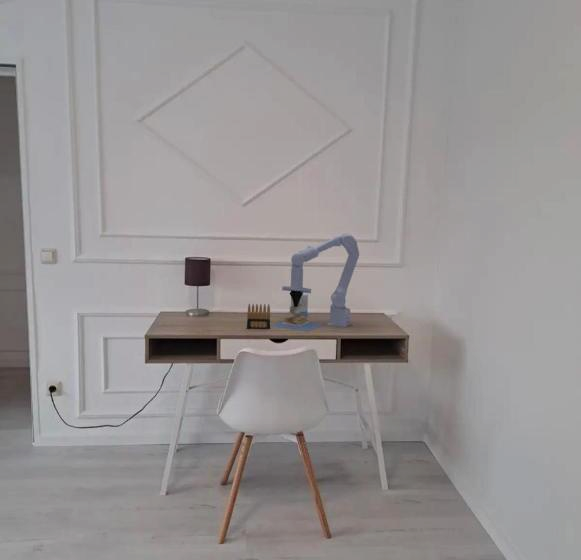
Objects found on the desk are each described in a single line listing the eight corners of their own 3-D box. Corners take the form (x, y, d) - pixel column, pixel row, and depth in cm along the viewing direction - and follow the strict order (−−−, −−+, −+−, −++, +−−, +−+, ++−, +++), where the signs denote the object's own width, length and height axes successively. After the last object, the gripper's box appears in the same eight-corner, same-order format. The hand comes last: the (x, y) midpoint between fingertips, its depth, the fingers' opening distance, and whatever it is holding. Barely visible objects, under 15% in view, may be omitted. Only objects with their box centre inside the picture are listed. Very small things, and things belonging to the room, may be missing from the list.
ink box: (307, 316, 268) (308, 288, 266) (300, 317, 265) (301, 289, 263) (297, 313, 275) (298, 286, 273) (290, 314, 272) (290, 286, 270)
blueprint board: (324, 325, 250) (324, 323, 250) (308, 332, 234) (308, 331, 234) (287, 320, 259) (287, 318, 258) (269, 327, 243) (269, 325, 243)
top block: (301, 316, 251) (302, 306, 251) (297, 318, 247) (298, 307, 247) (293, 315, 253) (293, 305, 253) (289, 316, 249) (289, 306, 249)
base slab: (306, 322, 253) (306, 316, 252) (299, 325, 246) (299, 319, 245) (291, 320, 256) (292, 314, 256) (284, 323, 249) (284, 317, 249)
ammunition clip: (246, 329, 236) (247, 303, 235) (246, 328, 238) (247, 303, 236) (270, 330, 237) (270, 304, 235) (270, 329, 238) (270, 303, 237)
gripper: (279, 278, 248) (278, 306, 249) (307, 280, 241) (306, 309, 243) (286, 276, 254) (285, 303, 256) (313, 279, 247) (312, 307, 249)
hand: (296, 306), depth 250 cm, fingers closed, pressing on top block
